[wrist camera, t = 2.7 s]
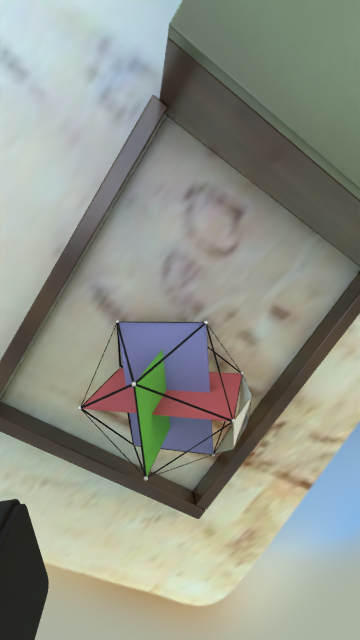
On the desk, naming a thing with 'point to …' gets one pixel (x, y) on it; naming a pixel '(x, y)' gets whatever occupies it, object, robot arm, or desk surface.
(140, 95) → the desk surface
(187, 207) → the desk surface
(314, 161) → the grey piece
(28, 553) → the robot arm
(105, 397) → the geometric puzzle
